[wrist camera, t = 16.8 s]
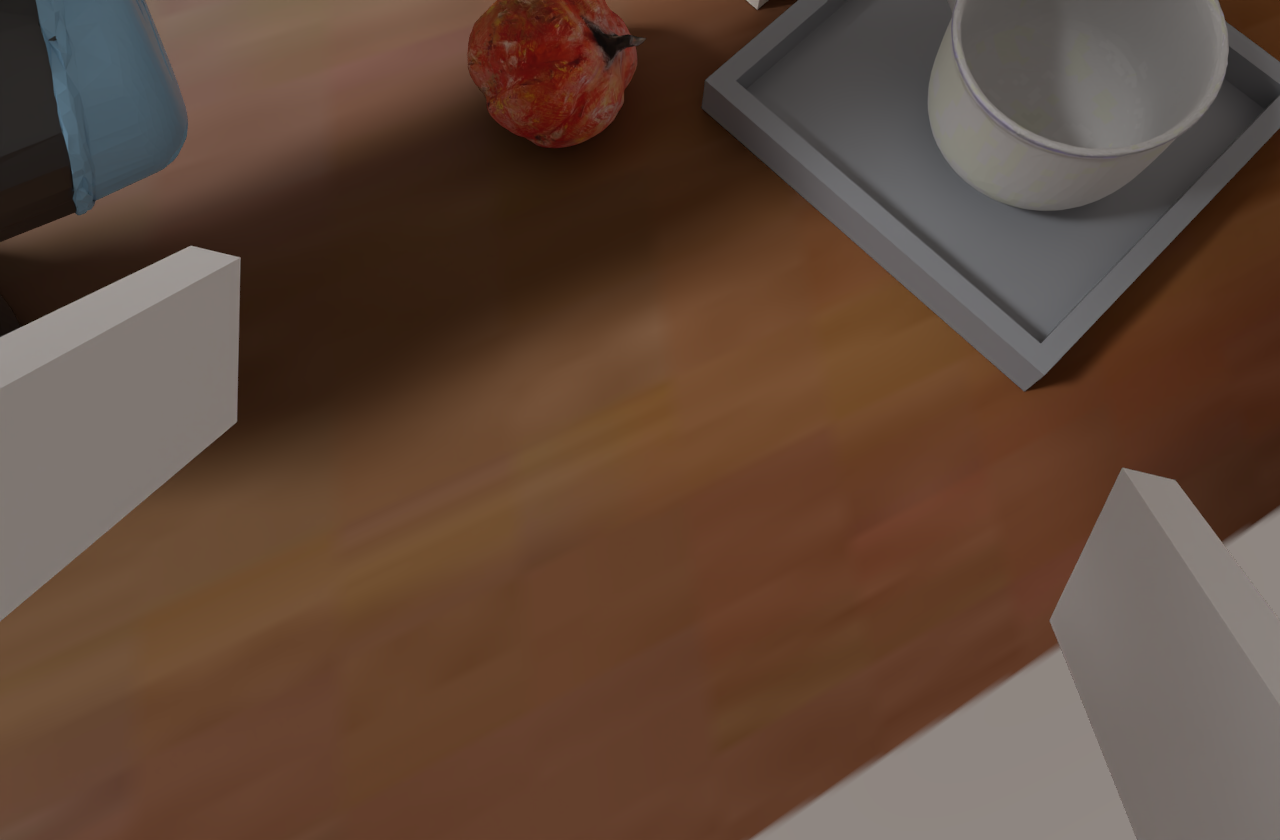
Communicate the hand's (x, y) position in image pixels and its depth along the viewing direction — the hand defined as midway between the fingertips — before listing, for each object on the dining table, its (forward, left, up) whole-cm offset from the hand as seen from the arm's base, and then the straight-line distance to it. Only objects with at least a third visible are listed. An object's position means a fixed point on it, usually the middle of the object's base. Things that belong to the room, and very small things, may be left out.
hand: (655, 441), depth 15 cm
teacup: (-5, +29, -27) cm, 40 cm away
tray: (-5, +29, -27) cm, 40 cm away
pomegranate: (-20, +14, -28) cm, 37 cm away
